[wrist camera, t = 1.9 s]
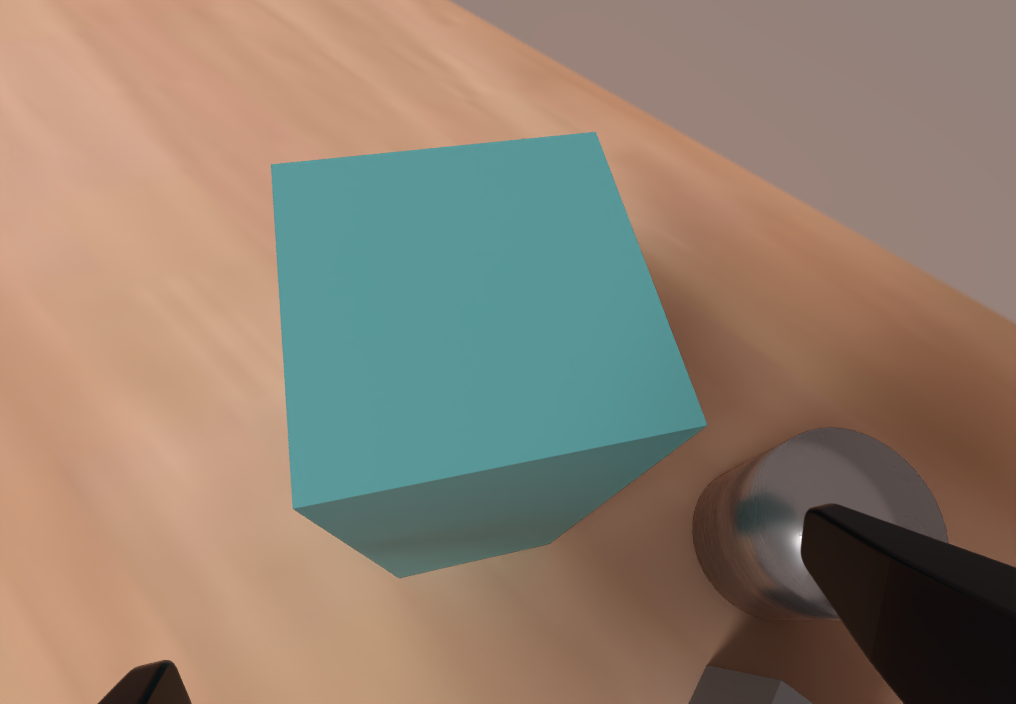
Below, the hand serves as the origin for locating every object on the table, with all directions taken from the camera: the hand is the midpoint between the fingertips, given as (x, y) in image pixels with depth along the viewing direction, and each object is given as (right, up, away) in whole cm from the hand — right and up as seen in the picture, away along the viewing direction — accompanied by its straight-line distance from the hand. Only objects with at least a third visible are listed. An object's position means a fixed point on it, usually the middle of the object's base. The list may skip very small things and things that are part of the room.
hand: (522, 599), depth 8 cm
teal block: (-2, -1, +11) cm, 12 cm away
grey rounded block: (+9, -3, +12) cm, 15 cm away
